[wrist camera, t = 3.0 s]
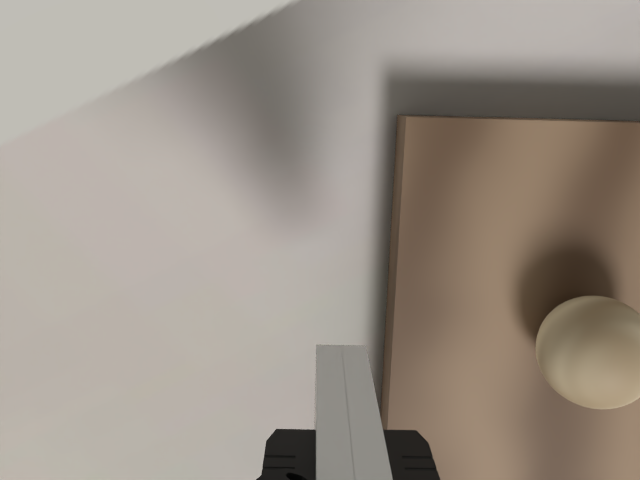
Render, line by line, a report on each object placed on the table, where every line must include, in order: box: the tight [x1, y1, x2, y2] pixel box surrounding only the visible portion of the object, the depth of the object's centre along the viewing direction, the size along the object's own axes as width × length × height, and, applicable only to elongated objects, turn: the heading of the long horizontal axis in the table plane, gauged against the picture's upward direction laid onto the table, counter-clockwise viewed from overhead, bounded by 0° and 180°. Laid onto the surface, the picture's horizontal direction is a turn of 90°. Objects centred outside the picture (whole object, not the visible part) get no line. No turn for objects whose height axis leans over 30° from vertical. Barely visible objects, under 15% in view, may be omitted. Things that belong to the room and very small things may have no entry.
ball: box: [536, 296, 640, 409], centre depth 20 cm, size 4×4×4 cm
